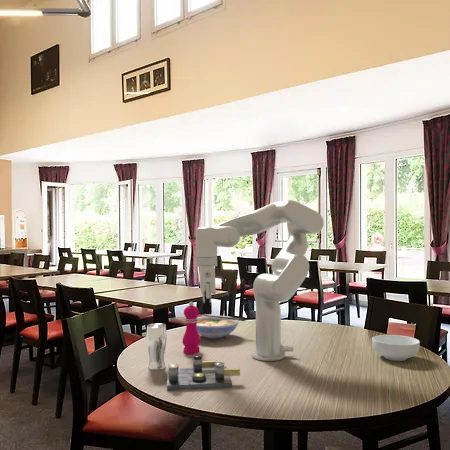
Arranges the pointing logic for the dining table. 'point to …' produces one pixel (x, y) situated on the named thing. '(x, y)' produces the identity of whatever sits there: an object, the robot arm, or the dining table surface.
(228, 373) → the grey knob
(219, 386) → the base plate
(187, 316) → the pepper mill
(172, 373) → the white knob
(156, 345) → the beer glass
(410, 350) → the cereal bowl
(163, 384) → the dining table surface
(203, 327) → the ramen bowl
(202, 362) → the tan lever handle
